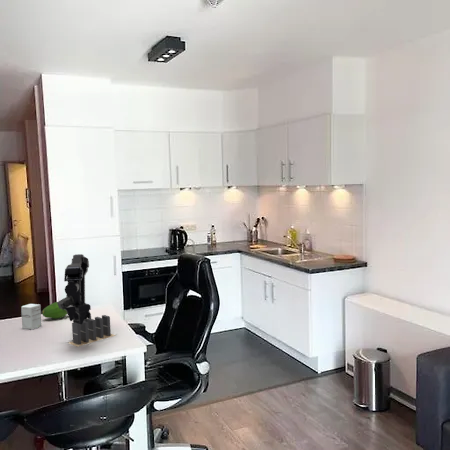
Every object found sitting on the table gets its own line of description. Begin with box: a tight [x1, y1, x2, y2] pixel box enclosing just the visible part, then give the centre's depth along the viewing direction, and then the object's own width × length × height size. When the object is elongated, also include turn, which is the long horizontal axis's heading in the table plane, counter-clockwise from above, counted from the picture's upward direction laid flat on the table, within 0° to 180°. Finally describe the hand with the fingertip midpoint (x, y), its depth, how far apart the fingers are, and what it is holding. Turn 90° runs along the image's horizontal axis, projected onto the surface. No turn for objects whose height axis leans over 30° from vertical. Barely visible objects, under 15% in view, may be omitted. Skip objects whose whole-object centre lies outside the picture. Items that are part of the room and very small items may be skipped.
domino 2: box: [80, 321, 89, 343], centre depth 231 cm, size 2×5×10 cm, turn 47°
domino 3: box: [87, 318, 96, 340], centre depth 234 cm, size 2×5×10 cm, turn 47°
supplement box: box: [20, 303, 42, 330], centre depth 259 cm, size 7×7×13 cm
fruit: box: [41, 301, 68, 320], centre depth 276 cm, size 15×10×10 cm, turn 120°
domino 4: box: [94, 316, 104, 338], centre depth 237 cm, size 2×5×10 cm, turn 47°
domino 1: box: [71, 322, 81, 345], centre depth 228 cm, size 2×5×10 cm, turn 48°
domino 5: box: [101, 314, 112, 336], centre depth 240 cm, size 2×5×10 cm, turn 47°
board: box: [68, 333, 117, 348], centre depth 235 cm, size 22×9×1 cm, turn 137°
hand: (76, 322), depth 228 cm, fingers open, 9 cm apart
